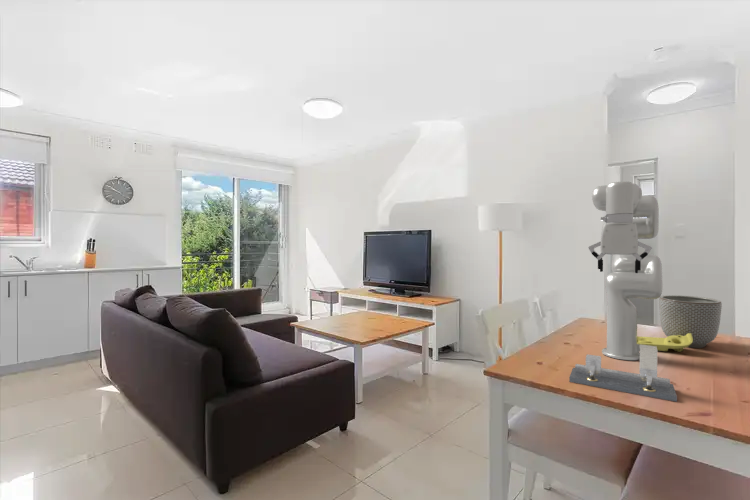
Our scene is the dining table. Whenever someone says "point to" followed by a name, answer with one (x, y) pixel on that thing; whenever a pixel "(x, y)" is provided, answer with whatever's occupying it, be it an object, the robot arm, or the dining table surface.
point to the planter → (690, 317)
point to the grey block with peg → (648, 363)
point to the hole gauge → (620, 380)
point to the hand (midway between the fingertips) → (618, 272)
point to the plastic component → (667, 342)
